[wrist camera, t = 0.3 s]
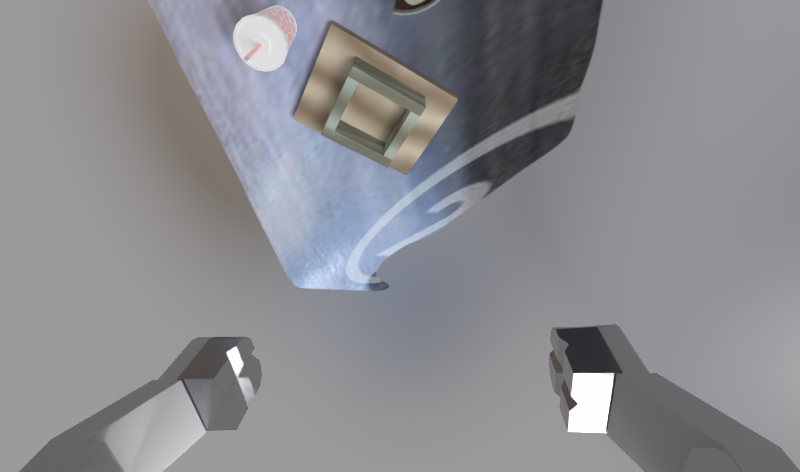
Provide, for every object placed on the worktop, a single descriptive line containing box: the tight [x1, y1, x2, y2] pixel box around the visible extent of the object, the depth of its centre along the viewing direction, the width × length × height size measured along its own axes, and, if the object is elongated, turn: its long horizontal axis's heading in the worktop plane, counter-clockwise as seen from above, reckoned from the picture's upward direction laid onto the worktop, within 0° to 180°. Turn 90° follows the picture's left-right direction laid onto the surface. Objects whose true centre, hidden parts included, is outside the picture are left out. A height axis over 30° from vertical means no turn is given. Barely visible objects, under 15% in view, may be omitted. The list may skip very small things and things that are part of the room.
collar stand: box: [293, 21, 458, 175], centre depth 56 cm, size 15×20×6 cm
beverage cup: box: [233, 5, 297, 72], centre depth 46 cm, size 6×6×14 cm
